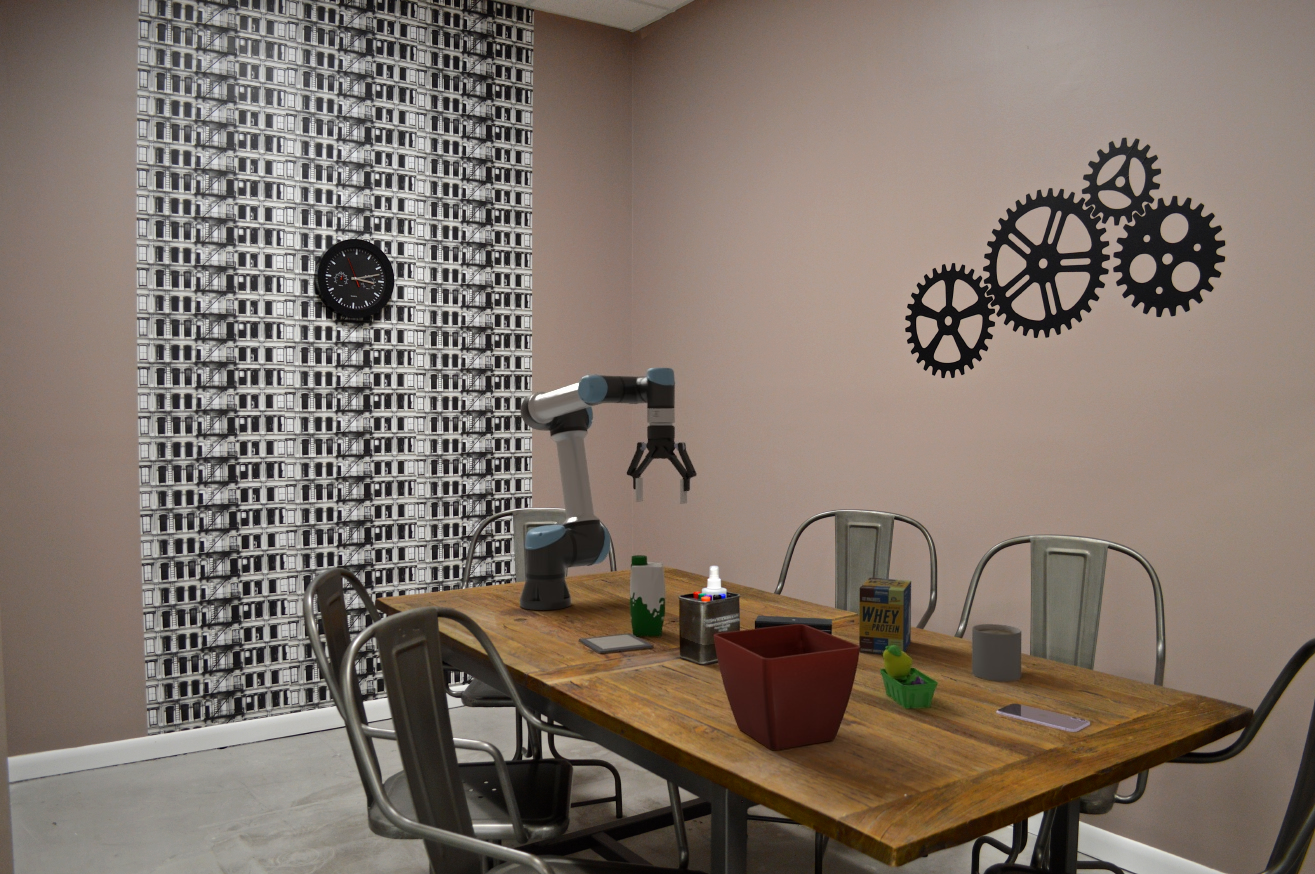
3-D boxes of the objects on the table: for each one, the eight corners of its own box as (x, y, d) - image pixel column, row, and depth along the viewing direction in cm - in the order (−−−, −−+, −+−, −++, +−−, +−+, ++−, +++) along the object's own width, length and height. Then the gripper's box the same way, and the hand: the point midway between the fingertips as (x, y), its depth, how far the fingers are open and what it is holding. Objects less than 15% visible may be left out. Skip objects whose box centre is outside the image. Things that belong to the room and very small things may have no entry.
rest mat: (578, 641, 230) (578, 638, 230) (630, 635, 236) (630, 632, 236) (599, 653, 217) (599, 650, 217) (653, 647, 224) (653, 644, 224)
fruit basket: (939, 709, 176) (940, 650, 176) (895, 711, 174) (896, 652, 174) (913, 691, 187) (913, 636, 187) (872, 694, 186) (872, 638, 185)
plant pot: (764, 761, 149) (765, 657, 149) (711, 725, 166) (711, 632, 166) (863, 744, 157) (863, 645, 156) (801, 712, 174) (802, 623, 174)
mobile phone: (1013, 701, 179) (1092, 719, 168) (1013, 706, 179) (1092, 724, 168) (993, 709, 174) (1074, 729, 162) (993, 714, 174) (1074, 734, 162)
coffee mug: (997, 683, 193) (997, 636, 192) (962, 672, 202) (962, 626, 201) (1043, 675, 199) (1043, 629, 198) (1006, 664, 207) (1007, 620, 207)
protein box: (858, 652, 219) (858, 587, 219) (869, 638, 233) (869, 577, 233) (903, 656, 215) (904, 590, 215) (911, 641, 229) (912, 579, 229)
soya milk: (631, 629, 243) (630, 553, 242) (665, 629, 243) (665, 553, 242) (629, 637, 234) (629, 558, 234) (665, 637, 234) (664, 558, 233)
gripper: (614, 424, 254) (614, 501, 254) (696, 424, 242) (696, 505, 243) (627, 424, 260) (627, 499, 261) (708, 424, 249) (708, 503, 249)
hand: (661, 502), depth 252 cm, fingers open, 13 cm apart
